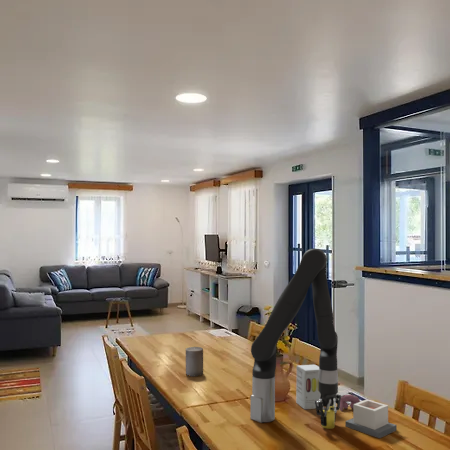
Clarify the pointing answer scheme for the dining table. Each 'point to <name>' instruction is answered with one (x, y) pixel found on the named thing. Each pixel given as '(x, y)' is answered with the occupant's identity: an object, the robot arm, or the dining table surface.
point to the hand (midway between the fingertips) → (328, 423)
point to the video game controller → (348, 398)
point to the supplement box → (307, 386)
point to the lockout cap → (330, 419)
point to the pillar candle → (194, 361)
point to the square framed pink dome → (371, 419)
